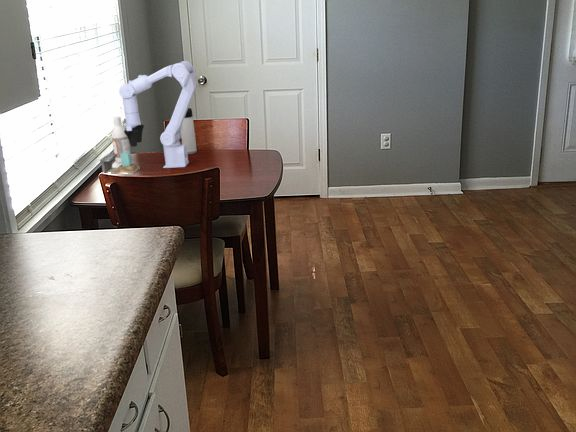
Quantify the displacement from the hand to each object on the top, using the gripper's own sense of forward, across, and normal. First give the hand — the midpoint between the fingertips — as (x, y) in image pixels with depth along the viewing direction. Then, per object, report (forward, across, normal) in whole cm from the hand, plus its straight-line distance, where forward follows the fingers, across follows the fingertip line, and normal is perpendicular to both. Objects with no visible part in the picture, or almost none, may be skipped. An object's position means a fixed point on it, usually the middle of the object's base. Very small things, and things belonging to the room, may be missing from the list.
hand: (136, 144), depth 275 cm
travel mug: (+10, -22, +18) cm, 30 cm away
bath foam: (+10, -11, -10) cm, 18 cm away
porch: (+10, +8, -6) cm, 14 cm away
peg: (+9, +8, -3) cm, 12 cm away
